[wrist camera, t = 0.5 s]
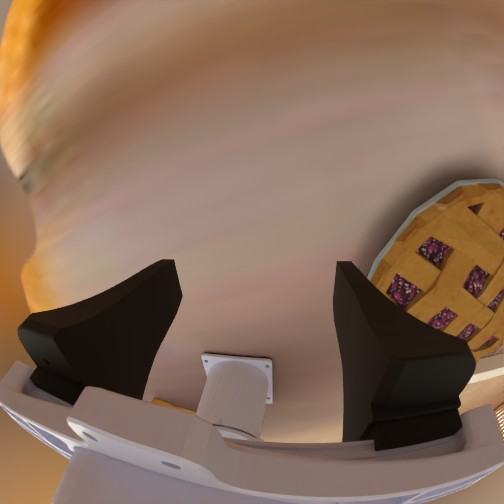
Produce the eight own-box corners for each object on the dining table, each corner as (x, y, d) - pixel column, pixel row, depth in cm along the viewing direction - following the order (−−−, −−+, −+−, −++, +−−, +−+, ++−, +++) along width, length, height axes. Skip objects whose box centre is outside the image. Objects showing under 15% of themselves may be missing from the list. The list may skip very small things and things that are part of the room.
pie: (423, 118, 16) (456, 123, 12) (548, 231, 17) (573, 252, 12) (310, 331, 27) (310, 370, 22) (449, 368, 27) (460, 397, 23)
